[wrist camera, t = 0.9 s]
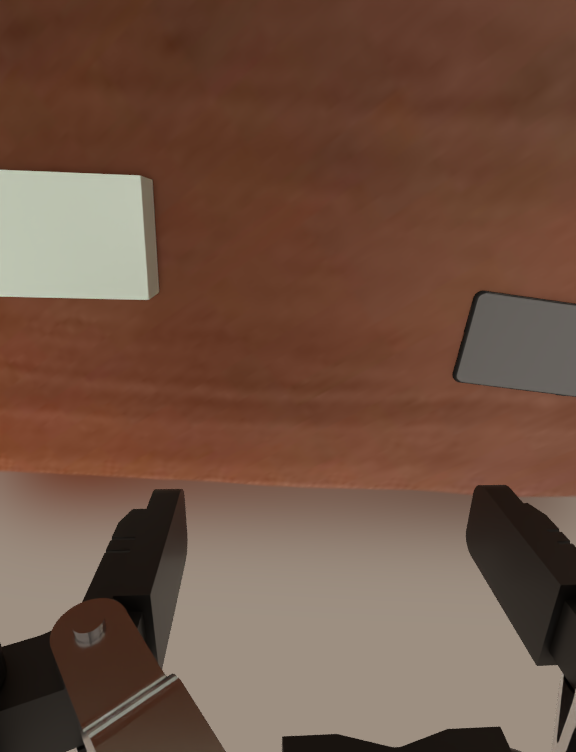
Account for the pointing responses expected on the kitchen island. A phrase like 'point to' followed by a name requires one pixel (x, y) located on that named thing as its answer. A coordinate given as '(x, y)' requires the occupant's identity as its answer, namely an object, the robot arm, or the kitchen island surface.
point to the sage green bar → (77, 236)
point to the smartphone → (519, 344)
